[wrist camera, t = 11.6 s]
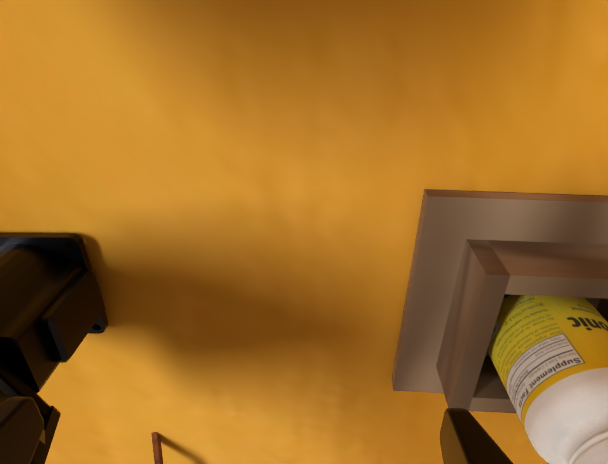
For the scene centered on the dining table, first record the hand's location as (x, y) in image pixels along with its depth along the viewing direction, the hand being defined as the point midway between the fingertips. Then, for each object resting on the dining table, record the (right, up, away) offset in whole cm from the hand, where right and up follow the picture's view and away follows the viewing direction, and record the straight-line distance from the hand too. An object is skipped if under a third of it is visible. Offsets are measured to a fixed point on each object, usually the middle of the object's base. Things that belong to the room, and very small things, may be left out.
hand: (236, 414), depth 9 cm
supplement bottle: (+13, 0, +14) cm, 19 cm away
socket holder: (+14, 0, +14) cm, 20 cm away
